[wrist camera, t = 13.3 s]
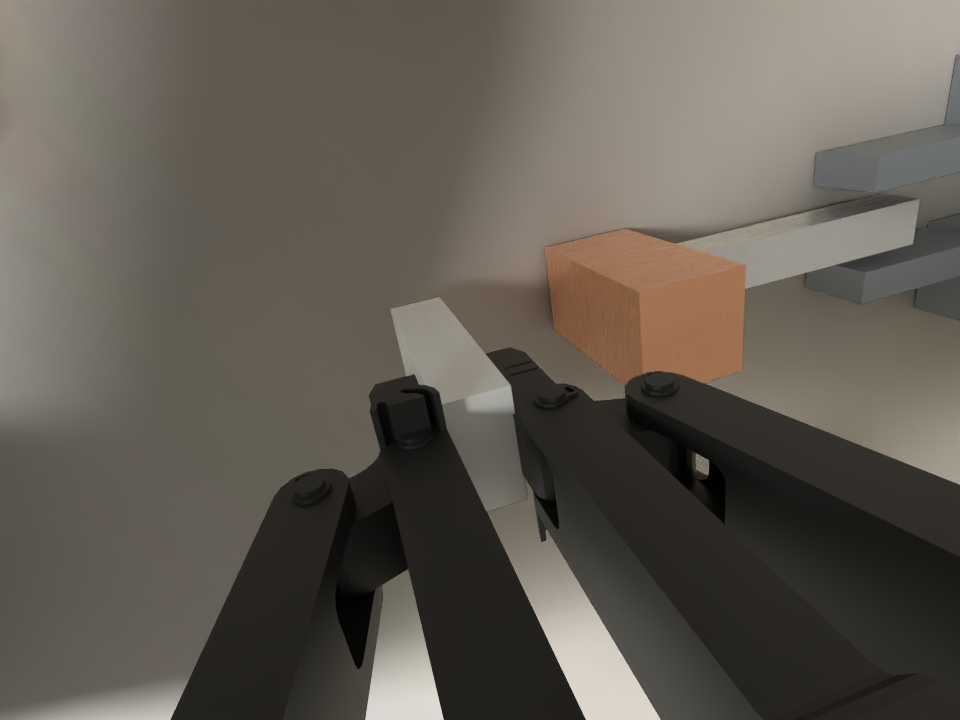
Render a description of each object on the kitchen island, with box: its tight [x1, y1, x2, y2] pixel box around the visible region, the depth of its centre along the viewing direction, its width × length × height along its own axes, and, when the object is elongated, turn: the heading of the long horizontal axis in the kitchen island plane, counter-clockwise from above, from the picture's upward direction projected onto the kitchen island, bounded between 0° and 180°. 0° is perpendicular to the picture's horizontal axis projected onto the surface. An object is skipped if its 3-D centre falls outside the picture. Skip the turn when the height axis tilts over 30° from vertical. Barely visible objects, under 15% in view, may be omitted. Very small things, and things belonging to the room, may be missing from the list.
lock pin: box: [545, 194, 920, 386], centre depth 18 cm, size 13×3×6 cm, turn 99°
